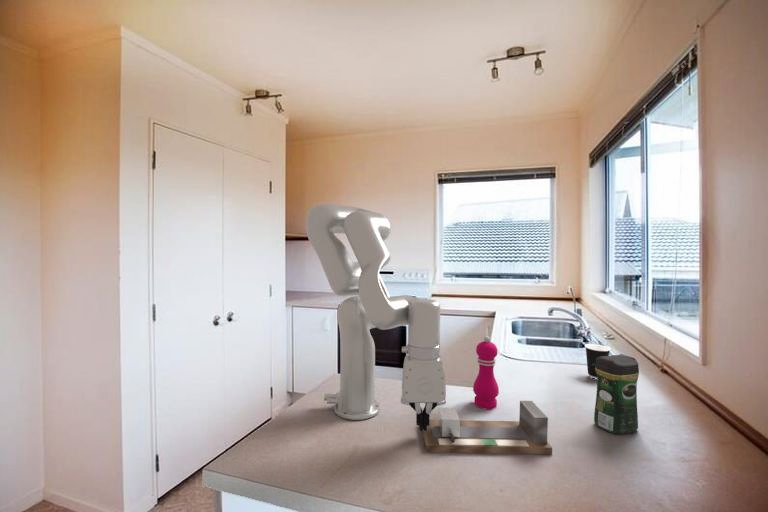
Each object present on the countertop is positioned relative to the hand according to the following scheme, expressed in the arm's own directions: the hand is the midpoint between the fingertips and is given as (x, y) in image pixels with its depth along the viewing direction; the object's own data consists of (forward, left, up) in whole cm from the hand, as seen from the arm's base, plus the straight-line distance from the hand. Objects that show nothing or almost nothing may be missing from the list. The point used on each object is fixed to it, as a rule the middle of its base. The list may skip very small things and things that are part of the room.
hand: (422, 427), depth 87 cm
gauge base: (+14, 0, -2) cm, 14 cm away
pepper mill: (+20, +19, -3) cm, 28 cm away
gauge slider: (+6, -1, -1) cm, 6 cm away
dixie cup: (+66, +43, -3) cm, 79 cm away
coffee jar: (+50, +7, -3) cm, 51 cm away
